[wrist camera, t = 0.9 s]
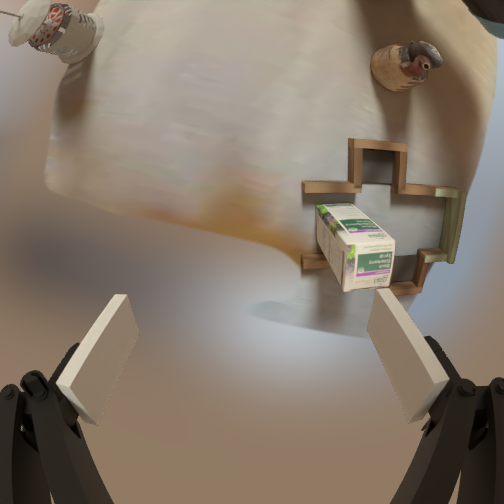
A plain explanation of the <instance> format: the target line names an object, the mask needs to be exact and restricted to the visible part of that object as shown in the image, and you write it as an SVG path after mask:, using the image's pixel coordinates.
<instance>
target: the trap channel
mask: <svg viewBox="0 0 504 504" xmlns="http://www.w3.org/2000/svg"><path fill="white" fill-rule="evenodd" d="M363 148H369V149H381V150H392V152H388V151H377V150H363ZM406 169H407V144H404V143H396V142H387V141H377V140H365V139H351V138H348V181H302V190H303V191H304V192H305V193H361V191H362V182H368V183H391V191H393V192H395V193H397V194H413V195H431V196H438V197H447V200H446V208H445V215H444V222H443V228H442V234H441V239H440V244H439V248H430V249H418V251H417V255H408V256H394V261H393V268H392V273H391V278H390V283H389V286H387V287H380V288H377V289H383V288H389V289H390V290H391V292H392V293H393V294H394V296H400V295H408V294H416V293H421V291H422V288H423V284H424V280H425V276H426V272H427V268H428V263H429V262H441V261H447V262H448V263H449V264H453V263H454V261H455V256H456V252H457V248H458V243H459V238H460V233H461V228H462V222H463V216H464V209H465V203H466V195H467V193H466V192H463V191H461V190H459V189H456V188H453V187H446V186H435V185H423V184H409V183H406ZM301 263H302V266H303V269H319V268H331V266H330V264H329V262H328V260H327V259H326V257H325V255H324V254H304V255H301ZM408 280H411V281H408ZM398 281H403V282H398ZM391 282H393V283H391Z"/></svg>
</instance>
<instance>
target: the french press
mask: <svg viewBox="0 0 504 504" xmlns="http://www.w3.org/2000/svg"><path fill="white" fill-rule="evenodd" d="M66 6H69V7H68V8H66V9H64V7H66ZM68 9H71V11H68V12H67V13H66V14H65V11H66V10H68ZM71 12H72V14H71V15H70V16H69V15H68V14H69V13H71ZM0 13H4V14H8V15H12V16H15V17H14V19H13V21H12V24H11V27H10V31H9V43H10V44H11V46H19V45H21V44H23V43H25V42H27V41H29V44H30V45H31V46H32V47H34V48H35V49H36V50H38V51H42V52H46V53H48V52H49V53H50V54H52V53H53V54H55V53H56V54H57V55H58V56H59V58H60V59H61V60H62V62H64V63H68V64H72V63H76V62H79V61H81V60H82V59H84V58H85V57H87V56H88V55H89V54H90V53H91V52H92V51H93V50H94V49H95V47H96V46H97V45H98V43H99V41H100V39H101V37H102V35H103V30H104V23H103V18H101V17H100V16H99V15H98V14H92V13H89V14H85V13H84V14H83V12H81V11H79V10H77V9H76V10H75V8H73V7H72V6H70V5H66V4H63V5H62V4H53V5H51V0H29V1H28V2H27V3H25V4H24V6H23V7H22V8H21V9H20V11H19V12H18V13H17V15H15V14H11V13H7V12H3V11H0ZM79 13H80V14H79ZM60 27H62V28H64V29H65V31H64V32H63V33H62V32H60V31H58V30H59V28H60ZM45 43H46V44H45ZM48 43H51V44H50V48H48ZM43 44H45V50H44V49H43ZM39 46H41V49H42V50H40V49H39V48H38V47H39ZM54 51H55V53H54ZM51 52H52V53H51ZM56 54H55V55H56Z"/></svg>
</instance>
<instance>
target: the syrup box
mask: <svg viewBox="0 0 504 504" xmlns="http://www.w3.org/2000/svg"><path fill="white" fill-rule="evenodd" d="M316 223H317V242H318V244H319V245H320V247H321V249H322V251H323V253H324V255H325V257H326V259H327V260H328V262H329V264H330V266H331V268H332V270H333V272H334V274H335V276H336V278H337V280H338V282H339V284H340V286H341V288H342V290H343V291H344V292H347V291H351V290H364V289H373V288H380V287H387V286H389V283H390V278H391V273H392V268H393V261H394V252H395V240H394V239H393V238H392V237H391V236H389V235H388V234H387V233H386V232H385V231H384V230H383V229H381V228H380V227H379V226H378V225H377V224H376V223H374V222H373V221H372V220H371V219H370V218H368V217H367V216H366V215H365V214H364V213H362V212H361V211H360V210H359V209H358V208H356V207H355V206H354V205H353V204H351V203H349V204H322V205H316Z"/></svg>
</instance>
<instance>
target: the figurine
mask: <svg viewBox="0 0 504 504" xmlns="http://www.w3.org/2000/svg"><path fill="white" fill-rule="evenodd" d="M442 63H443V60H442V58H441V56H440V54H439V52H438V51H437V49H436V48H435V47H434V46H433V45H431V44H429V43H426V42H423V41H419V42H417V43H415V42H414V41H411V44H410V45H408V44H406V43H401V42H399V43H394V44H392V45H389V46H386V47H383V48H381V49H379V50H378V51H376V52H375V53H374V54H373V56H372V59H371V70H372V73H373V75H374V77H375V79H376V80H377V81H378V82H379V83H380V84H381V85H382V86H383V87H385V88H386V89H389V90H391V91H395V92H401V91H405V90H408V89H410V88H412V87H414V86H416V85H418V84H420V83H422V82H424V81H425V80H426V79H427V77H428V70H429V69H430V68H438V67H440V66H441V65H442Z"/></svg>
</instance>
